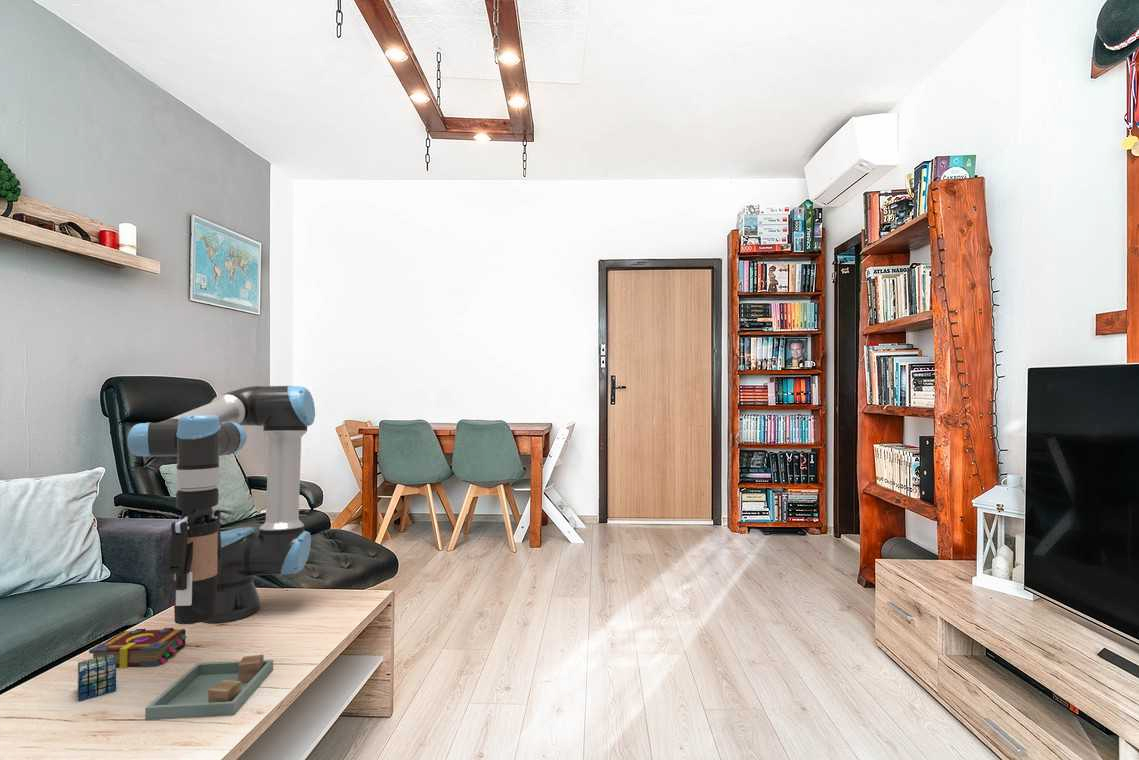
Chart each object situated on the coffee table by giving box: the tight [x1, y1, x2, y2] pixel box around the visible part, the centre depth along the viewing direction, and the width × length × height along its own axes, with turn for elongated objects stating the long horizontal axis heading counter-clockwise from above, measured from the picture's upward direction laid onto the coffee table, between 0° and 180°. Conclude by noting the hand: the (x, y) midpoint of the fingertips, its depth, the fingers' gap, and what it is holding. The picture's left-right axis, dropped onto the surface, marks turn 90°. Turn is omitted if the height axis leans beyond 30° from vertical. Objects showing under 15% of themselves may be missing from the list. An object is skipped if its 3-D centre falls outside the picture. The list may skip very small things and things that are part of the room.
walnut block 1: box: [208, 680, 242, 703], centre depth 114 cm, size 4×4×4 cm
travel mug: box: [173, 518, 218, 625], centre depth 120 cm, size 8×8×20 cm
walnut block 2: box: [238, 654, 265, 683], centre depth 125 cm, size 4×4×4 cm
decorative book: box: [88, 627, 187, 669], centre depth 137 cm, size 11×16×5 cm
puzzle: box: [77, 654, 117, 702], centre depth 121 cm, size 6×6×6 cm
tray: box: [144, 659, 274, 721], centre depth 119 cm, size 18×16×3 cm
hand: (195, 597), depth 120 cm, fingers closed on travel mug, 8 cm apart
